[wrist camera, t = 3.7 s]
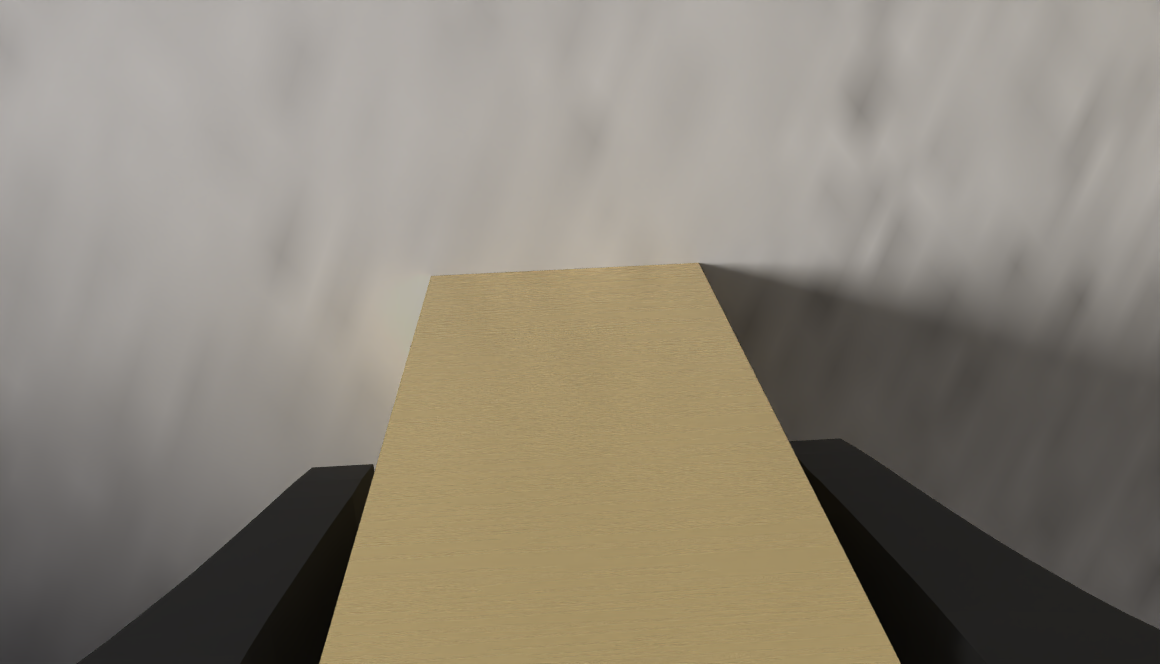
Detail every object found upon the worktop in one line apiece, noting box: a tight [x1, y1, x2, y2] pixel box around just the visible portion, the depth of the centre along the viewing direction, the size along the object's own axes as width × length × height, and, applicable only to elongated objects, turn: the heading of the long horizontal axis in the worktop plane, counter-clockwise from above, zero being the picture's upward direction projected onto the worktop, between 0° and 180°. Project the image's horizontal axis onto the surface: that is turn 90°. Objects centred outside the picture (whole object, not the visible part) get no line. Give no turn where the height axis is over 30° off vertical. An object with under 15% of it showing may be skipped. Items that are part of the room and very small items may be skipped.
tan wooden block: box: [319, 263, 901, 664], centre depth 9 cm, size 3×4×7 cm
